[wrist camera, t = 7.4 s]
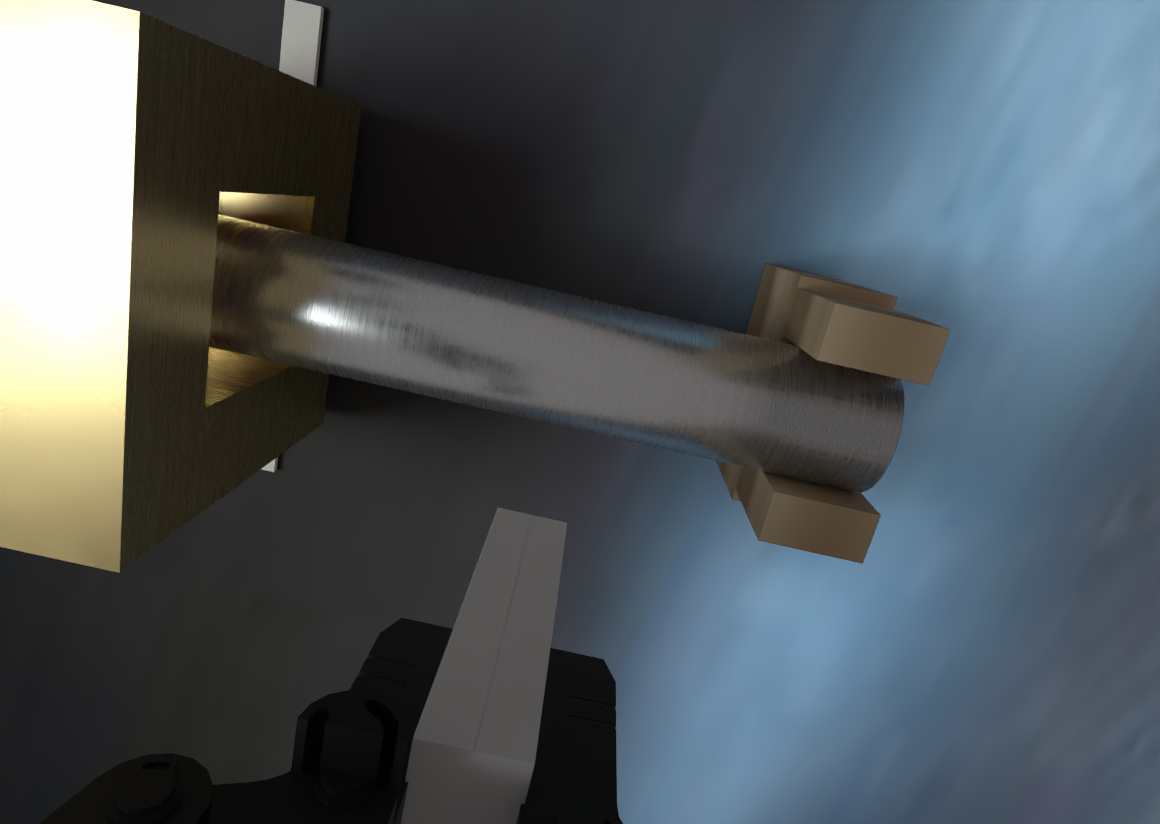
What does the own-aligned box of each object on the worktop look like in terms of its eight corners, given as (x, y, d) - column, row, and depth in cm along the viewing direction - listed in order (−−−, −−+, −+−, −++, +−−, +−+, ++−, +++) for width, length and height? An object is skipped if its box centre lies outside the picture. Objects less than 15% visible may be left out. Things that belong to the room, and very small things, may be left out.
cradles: (32, 297, 22) (-224, 335, 15) (32, 94, 20) (-256, 36, 14) (784, 466, 22) (858, 575, 16) (844, 281, 21) (956, 314, 14)
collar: (197, 395, 22) (-97, 525, 13) (219, 72, 19) (-133, -52, 10) (323, 423, 22) (119, 572, 13) (361, 105, 19) (138, 11, 10)
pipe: (-79, 266, 18) (-232, 279, 15) (-85, 128, 17) (-251, 108, 14) (825, 470, 18) (871, 525, 15) (868, 345, 17) (928, 376, 14)
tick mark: (247, 463, 23) (244, 465, 23) (288, 0, 19) (285, -2, 19) (276, 469, 23) (273, 471, 23) (324, 8, 19) (321, 6, 19)
